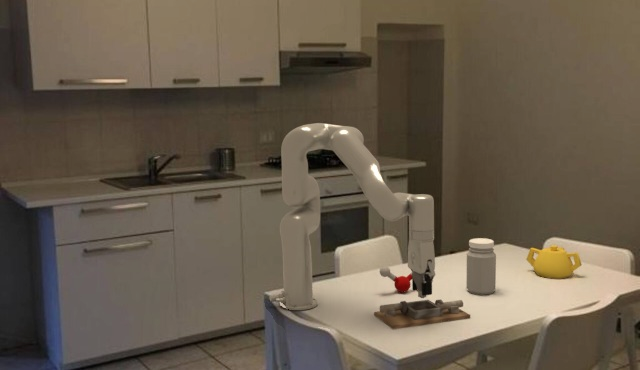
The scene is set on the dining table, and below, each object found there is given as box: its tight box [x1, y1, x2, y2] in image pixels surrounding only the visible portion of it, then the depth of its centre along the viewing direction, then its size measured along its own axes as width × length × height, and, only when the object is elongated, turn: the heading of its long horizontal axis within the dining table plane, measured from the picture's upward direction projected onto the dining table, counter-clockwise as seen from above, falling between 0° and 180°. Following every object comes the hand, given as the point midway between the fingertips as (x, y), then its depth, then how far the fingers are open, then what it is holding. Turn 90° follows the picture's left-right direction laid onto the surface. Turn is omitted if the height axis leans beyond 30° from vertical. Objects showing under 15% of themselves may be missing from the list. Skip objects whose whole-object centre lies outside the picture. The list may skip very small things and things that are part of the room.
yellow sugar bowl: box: [526, 244, 582, 280], centre depth 267 cm, size 20×18×11 cm
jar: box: [465, 237, 497, 296], centre depth 245 cm, size 10×10×18 cm
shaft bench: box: [373, 299, 471, 330], centre depth 221 cm, size 26×14×5 cm, turn 109°
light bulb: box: [412, 270, 429, 299], centre depth 220 cm, size 6×6×10 cm
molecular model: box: [379, 265, 413, 293], centre depth 247 cm, size 18×6×10 cm, turn 117°
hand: (422, 291), depth 220 cm, fingers closed on light bulb, 5 cm apart
